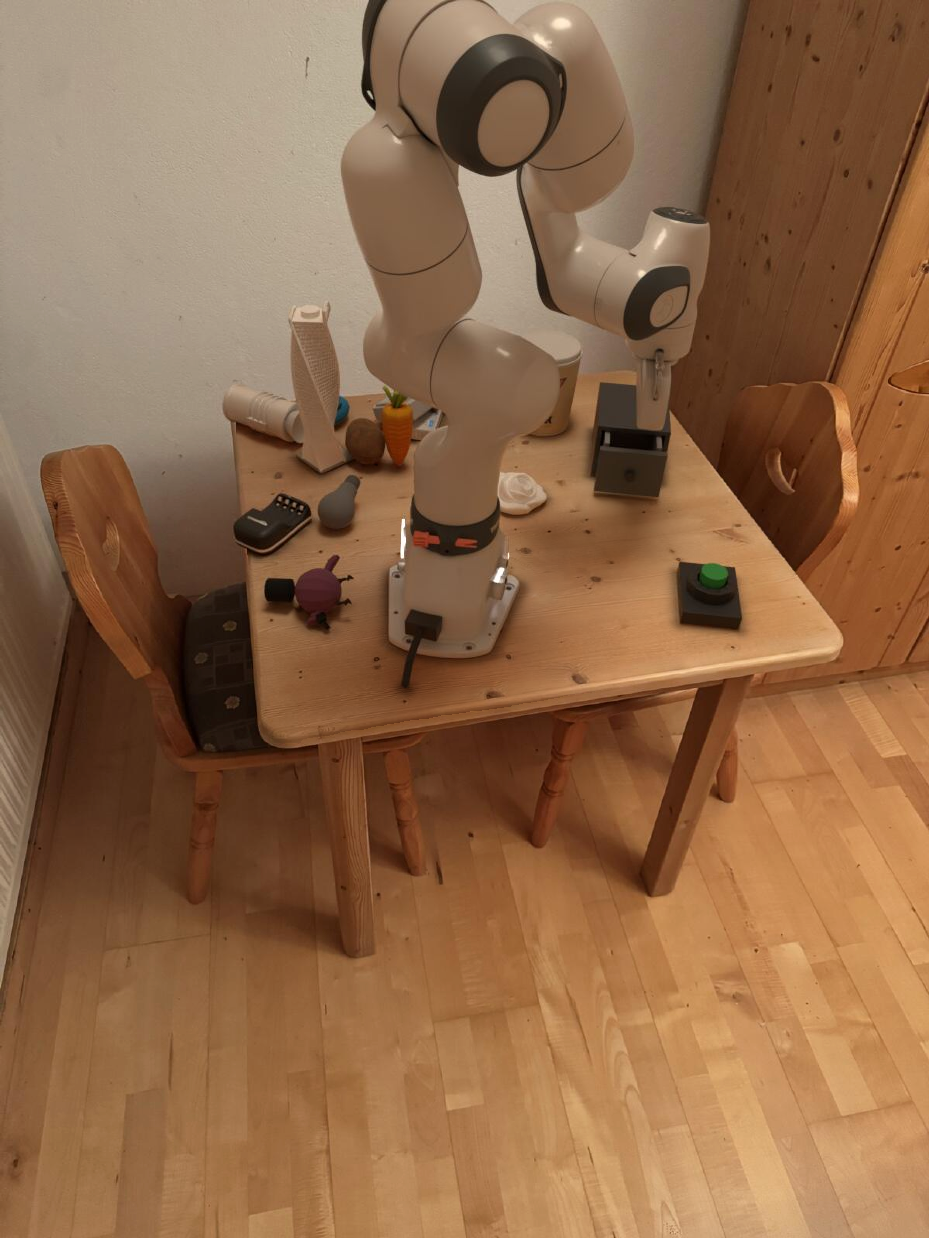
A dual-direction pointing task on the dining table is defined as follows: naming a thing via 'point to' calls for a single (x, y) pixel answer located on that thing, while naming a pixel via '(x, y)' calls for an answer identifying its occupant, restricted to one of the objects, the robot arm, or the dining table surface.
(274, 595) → the figurine
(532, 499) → the rose
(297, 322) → the skyscraper
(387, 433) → the carrot
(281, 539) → the battery charger
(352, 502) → the light bulb
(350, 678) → the dining table surface
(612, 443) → the drawer
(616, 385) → the cabinet
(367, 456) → the potato
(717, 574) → the button
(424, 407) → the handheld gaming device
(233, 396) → the white ribbed cylinder
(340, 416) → the ornament
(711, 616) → the control block
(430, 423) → the ink cartridge box
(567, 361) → the coffee cup
